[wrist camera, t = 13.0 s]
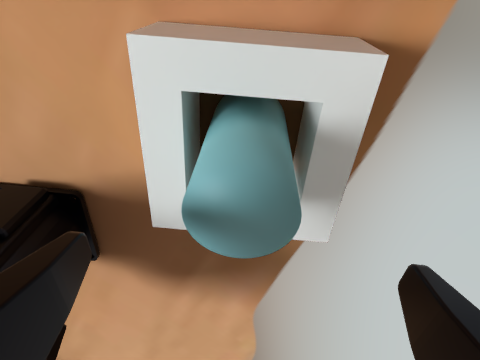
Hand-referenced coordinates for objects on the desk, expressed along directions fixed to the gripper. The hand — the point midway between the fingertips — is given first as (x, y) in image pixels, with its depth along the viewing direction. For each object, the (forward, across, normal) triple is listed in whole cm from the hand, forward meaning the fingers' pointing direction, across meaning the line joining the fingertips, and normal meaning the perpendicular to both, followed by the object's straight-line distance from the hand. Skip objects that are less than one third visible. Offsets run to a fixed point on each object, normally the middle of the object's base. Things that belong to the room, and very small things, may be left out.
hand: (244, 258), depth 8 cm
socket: (+10, 0, 0) cm, 10 cm away
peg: (+10, 0, 0) cm, 10 cm away
